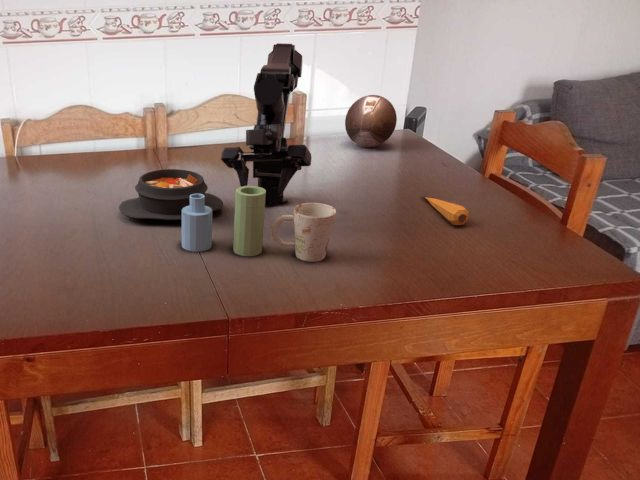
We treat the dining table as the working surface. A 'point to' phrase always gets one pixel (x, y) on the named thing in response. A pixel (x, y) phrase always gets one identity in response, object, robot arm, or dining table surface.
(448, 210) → the carrot
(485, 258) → the dining table surface
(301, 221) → the mug
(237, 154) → the robot arm
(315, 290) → the dining table surface
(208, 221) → the bottle
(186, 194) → the casserole
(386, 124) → the bronze metallic sphere
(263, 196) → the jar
